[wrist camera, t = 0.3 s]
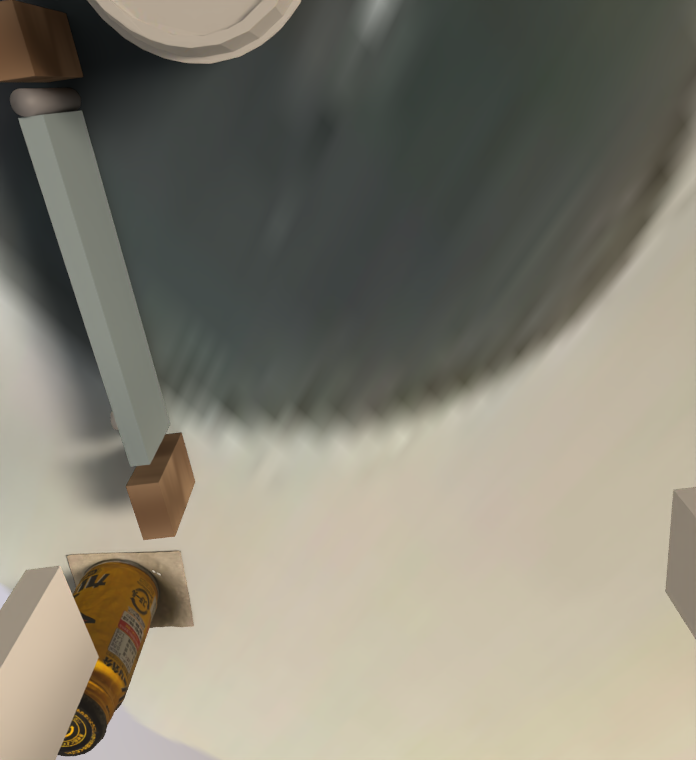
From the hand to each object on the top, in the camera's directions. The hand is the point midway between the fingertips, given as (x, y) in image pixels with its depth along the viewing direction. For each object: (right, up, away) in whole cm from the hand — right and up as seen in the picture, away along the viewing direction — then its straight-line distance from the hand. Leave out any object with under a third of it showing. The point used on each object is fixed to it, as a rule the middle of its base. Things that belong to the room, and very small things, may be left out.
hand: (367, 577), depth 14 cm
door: (-15, +11, +25) cm, 31 cm away
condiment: (-17, -12, +36) cm, 41 cm away
